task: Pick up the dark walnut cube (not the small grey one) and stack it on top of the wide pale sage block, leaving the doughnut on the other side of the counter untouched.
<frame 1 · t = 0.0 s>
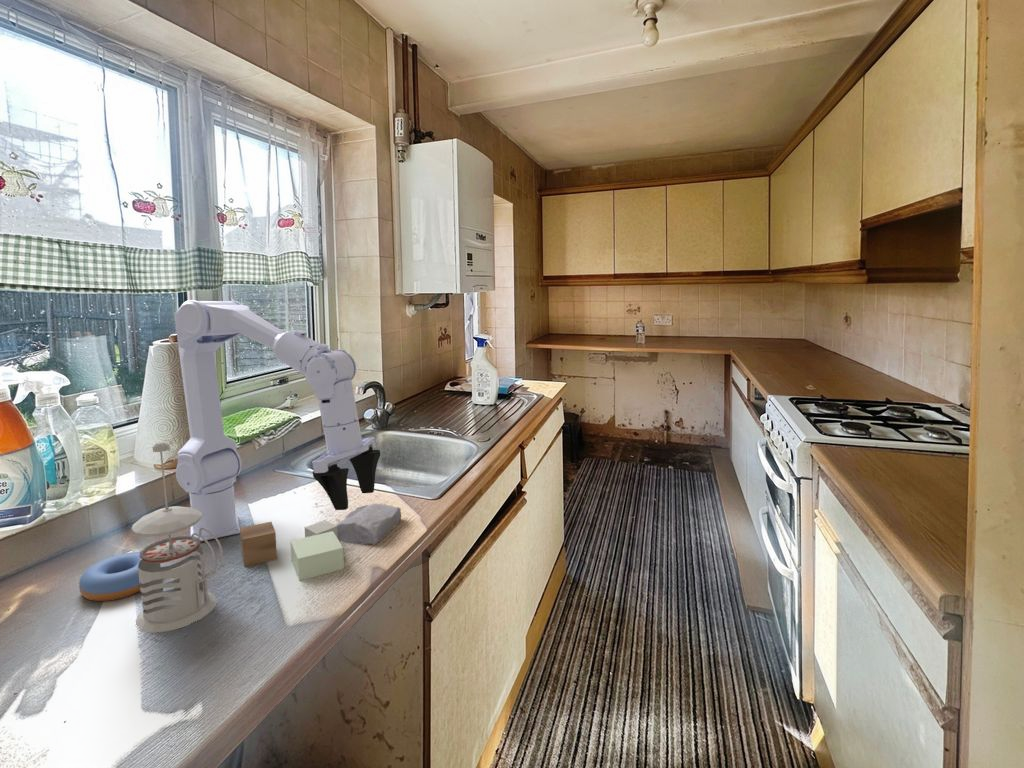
hand: (355, 500, 85), 11 cm above the counter, tool pointing down, fingers open, 7 cm apart
french press: (183, 611, 72), on the counter
doughnut: (122, 588, 78), on the counter
walnut cube: (259, 557, 87), on the counter
stone block: (367, 531, 98), on the counter
grey cube: (321, 547, 91), on the counter
sage block: (317, 566, 84), on the counter
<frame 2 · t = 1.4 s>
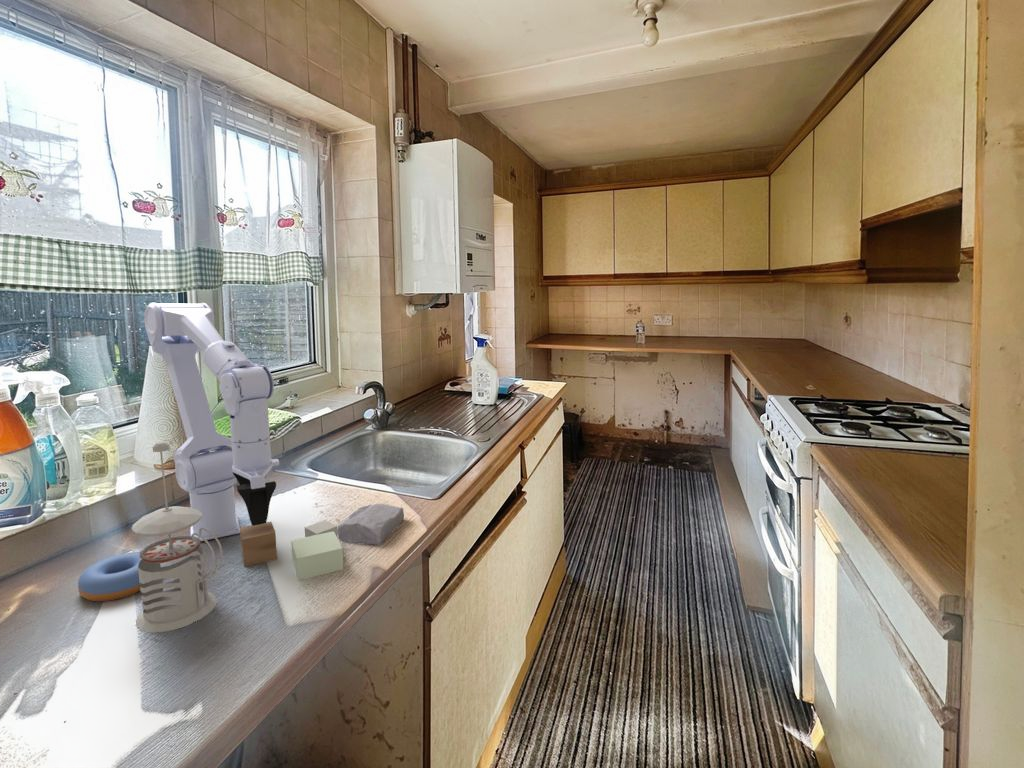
hand: (256, 515, 86), 8 cm above the counter, tool pointing down, fingers open, 7 cm apart
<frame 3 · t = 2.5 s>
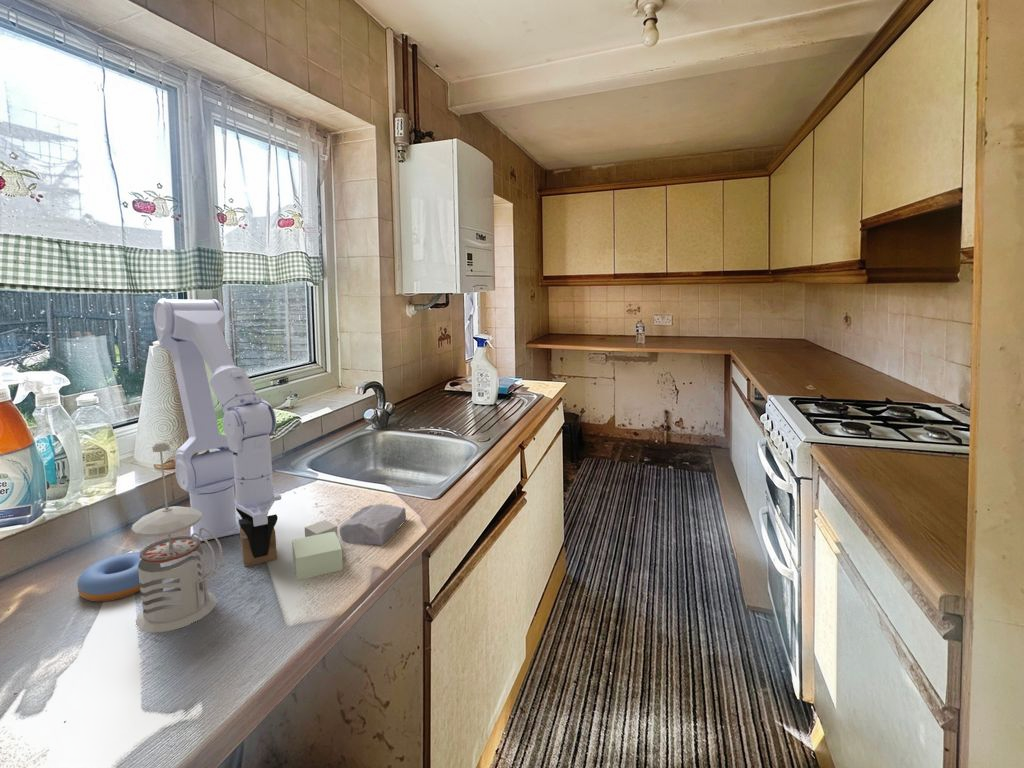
hand: (258, 548, 87), 1 cm above the counter, tool pointing down, fingers closed on walnut cube, 5 cm apart
walnut cube: (259, 556, 87), on the counter, touching gripper
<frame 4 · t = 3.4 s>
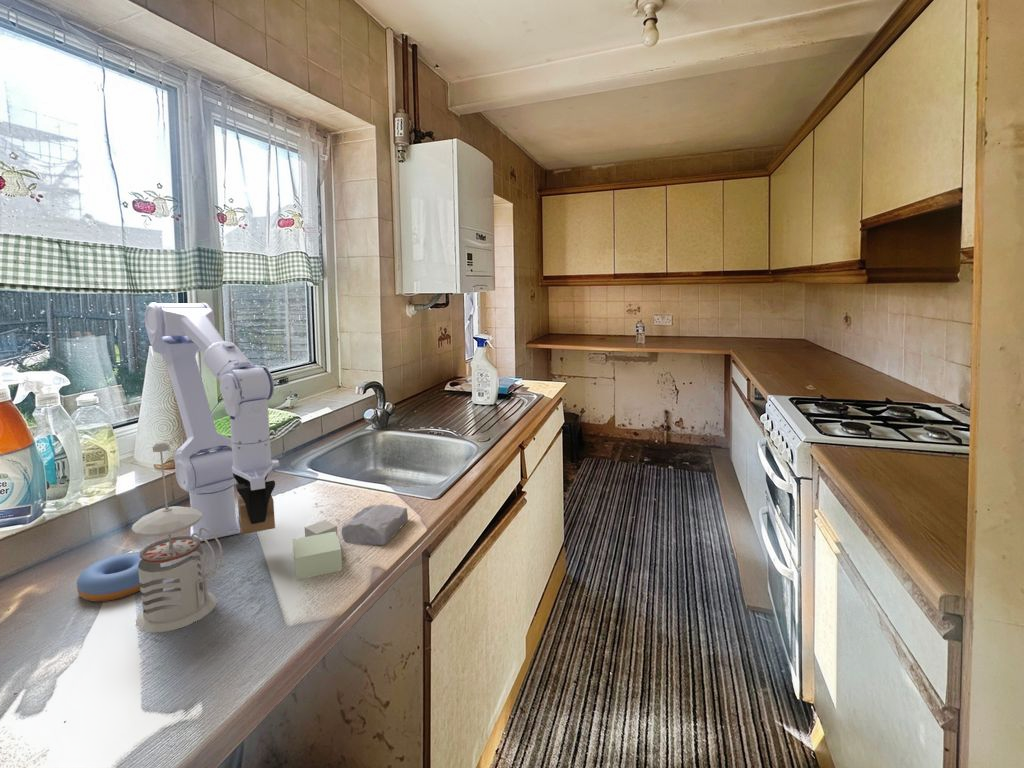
hand: (256, 516, 86), 7 cm above the counter, tool pointing down, fingers closed on walnut cube, 5 cm apart
walnut cube: (257, 525, 86), point 6 cm above the counter, touching gripper
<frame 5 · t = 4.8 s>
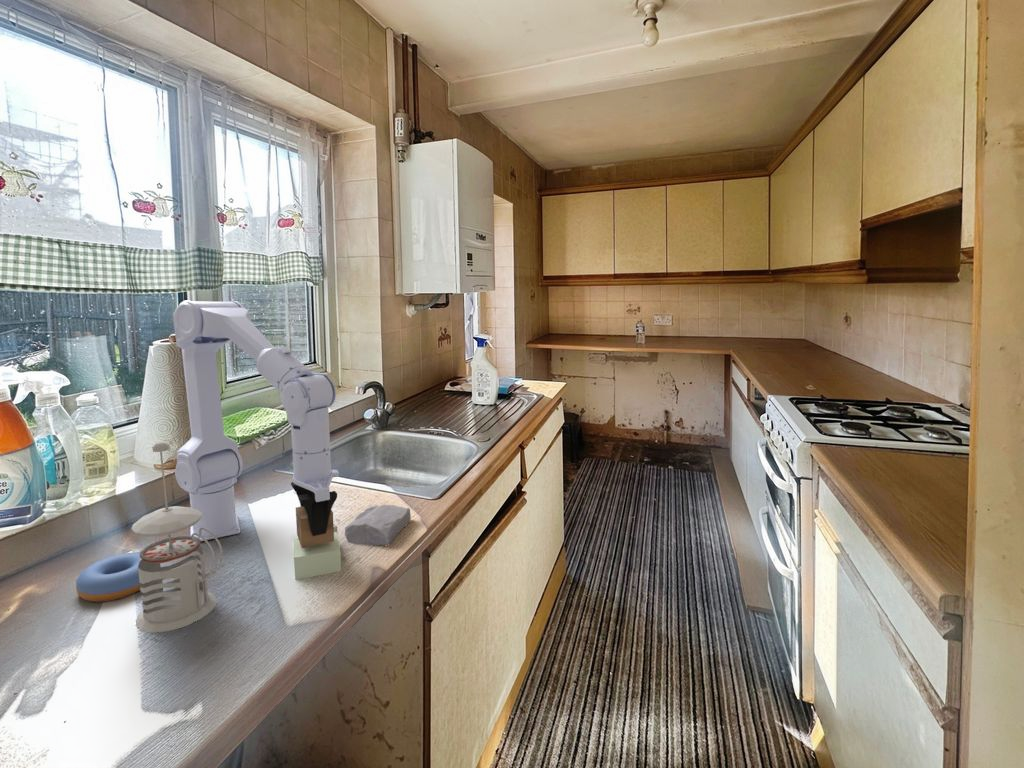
hand: (315, 527, 83), 7 cm above the counter, tool pointing down, fingers closed on walnut cube, 5 cm apart
walnut cube: (315, 538, 84), point 5 cm above the counter, touching gripper
when the fingers open (7 cm above the counter, at t = 5.2 s): walnut cube drops 1 cm, resting on sage block.
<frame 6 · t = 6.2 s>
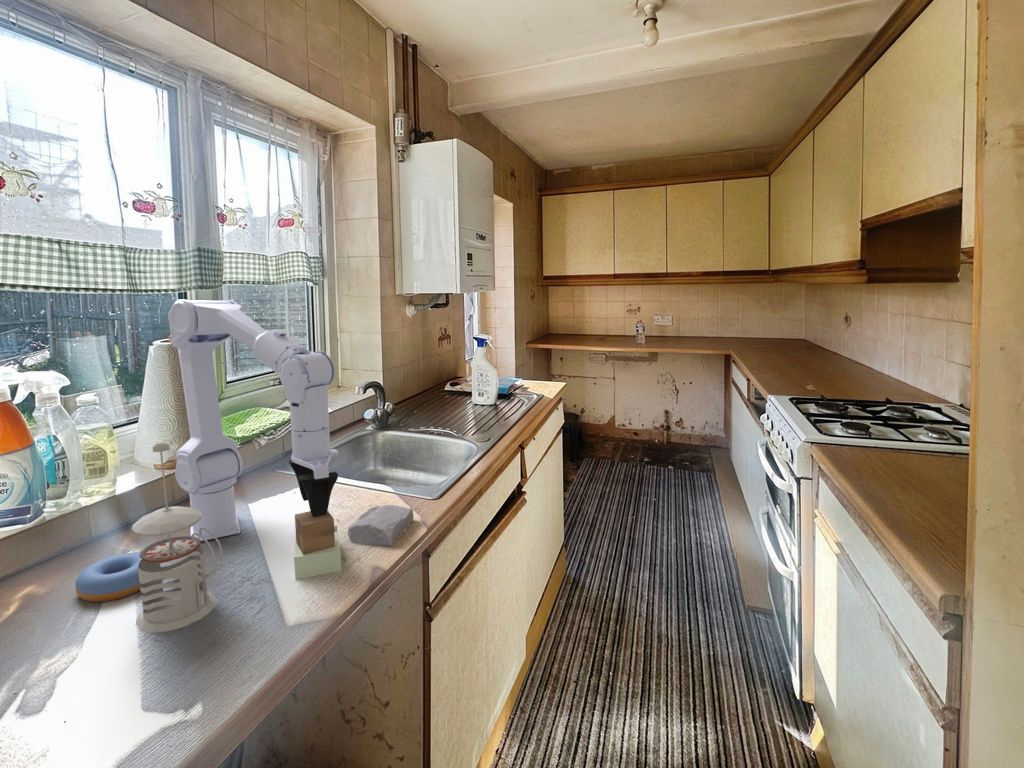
hand: (314, 507, 83), 10 cm above the counter, tool pointing down, fingers open, 7 cm apart
walnut cube: (315, 544, 84), point 4 cm above the counter, touching sage block
sage block: (318, 565, 85), on the counter, touching walnut cube
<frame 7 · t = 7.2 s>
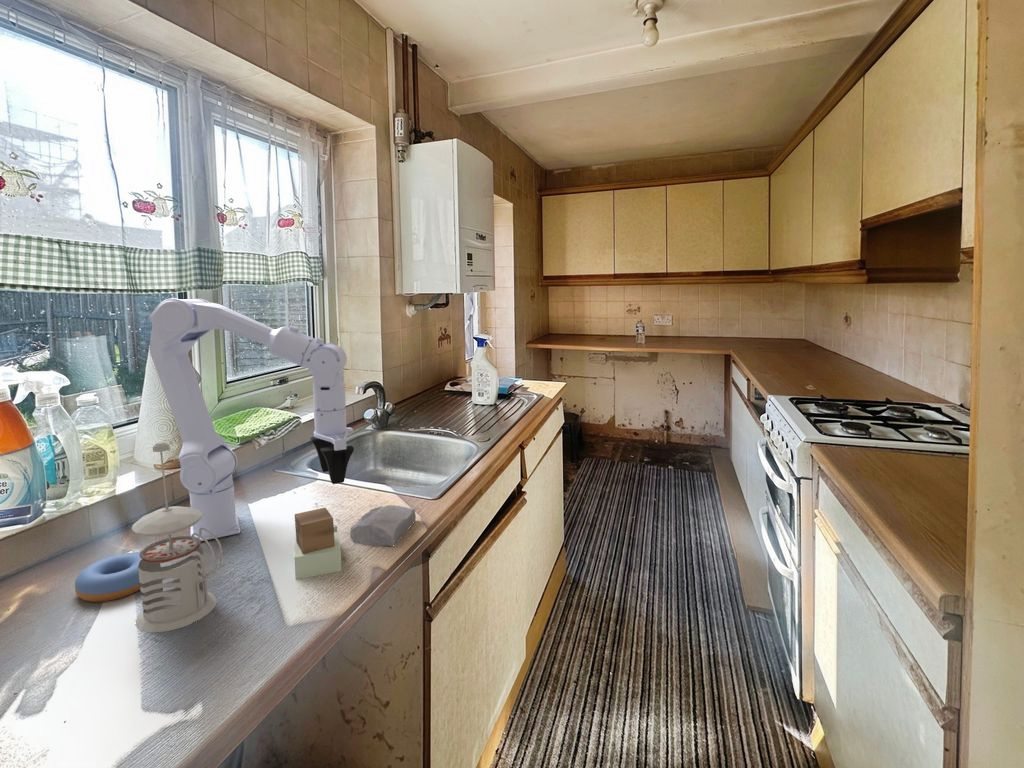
hand: (332, 476, 97), 10 cm above the counter, tool pointing down, fingers open, 7 cm apart
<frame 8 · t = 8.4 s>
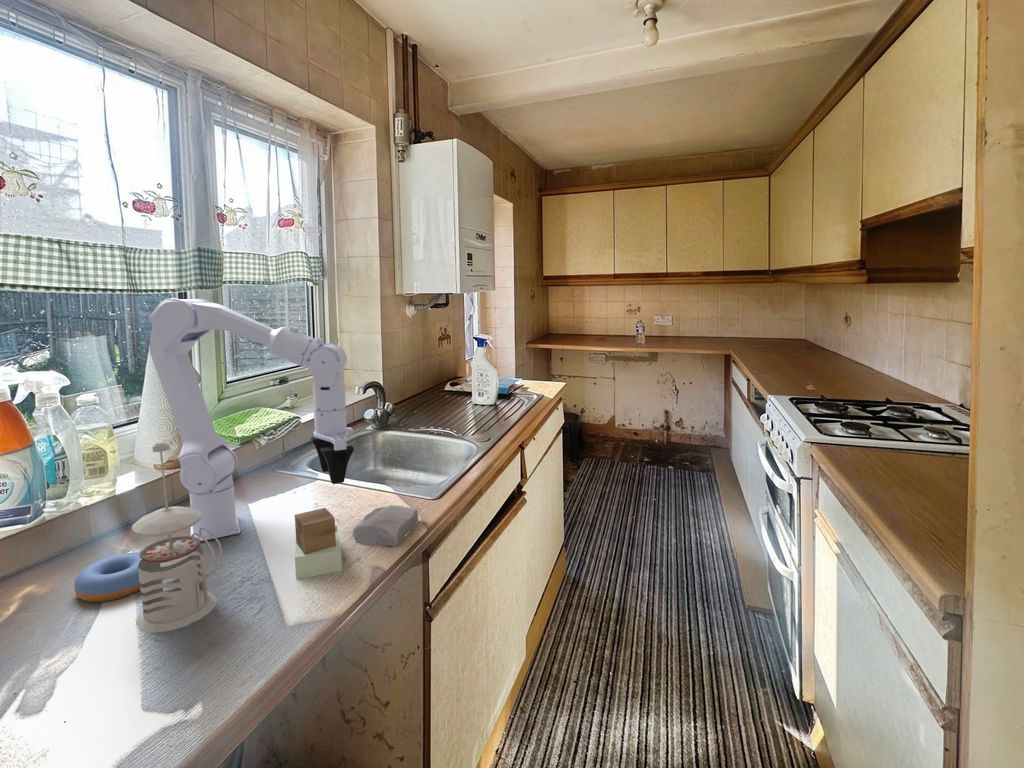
hand: (332, 476, 97), 10 cm above the counter, tool pointing down, fingers open, 7 cm apart
walnut cube: (316, 544, 84), point 4 cm above the counter
sage block: (319, 565, 85), on the counter
at the end: walnut cube inside the target area on the sage block (0.3 cm from its centre), point 4.0 cm above the sage block's base; walnut cube tilted 0°; doughnut moved 0.8 cm from its start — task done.
